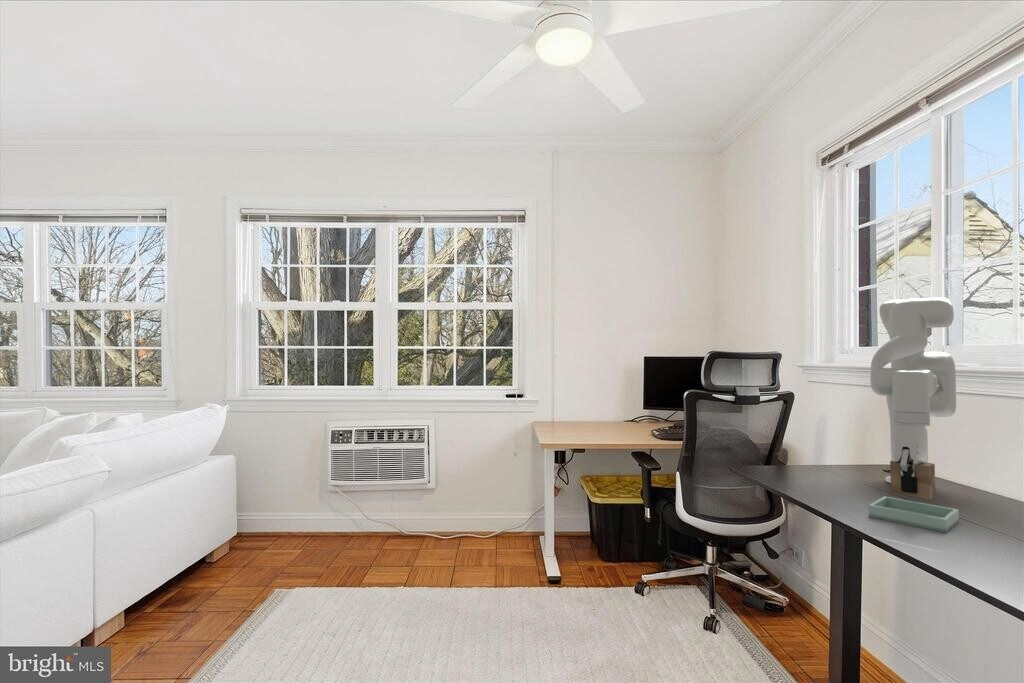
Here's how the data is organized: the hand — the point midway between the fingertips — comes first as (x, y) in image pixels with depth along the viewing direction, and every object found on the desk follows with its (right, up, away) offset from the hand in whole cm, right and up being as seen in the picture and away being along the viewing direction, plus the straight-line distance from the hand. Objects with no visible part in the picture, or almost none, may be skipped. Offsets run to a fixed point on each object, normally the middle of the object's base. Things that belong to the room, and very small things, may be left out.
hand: (912, 489), depth 132 cm
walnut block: (0, -1, 0) cm, 1 cm away
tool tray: (0, -7, 0) cm, 7 cm away
